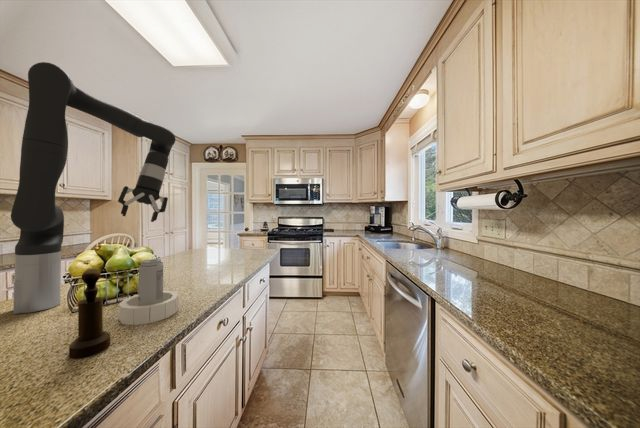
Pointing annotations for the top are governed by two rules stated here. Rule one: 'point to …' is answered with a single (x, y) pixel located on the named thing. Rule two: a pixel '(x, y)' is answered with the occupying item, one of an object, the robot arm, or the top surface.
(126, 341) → the top surface
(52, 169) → the robot arm
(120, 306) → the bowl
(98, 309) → the dark brown wooden stand
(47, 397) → the top surface
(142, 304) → the energy drink can
